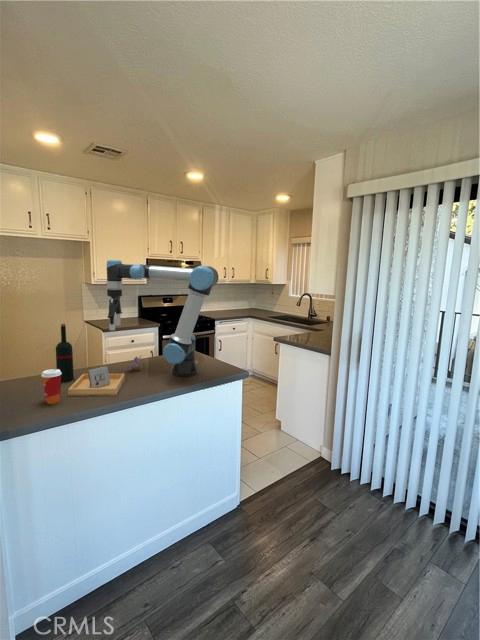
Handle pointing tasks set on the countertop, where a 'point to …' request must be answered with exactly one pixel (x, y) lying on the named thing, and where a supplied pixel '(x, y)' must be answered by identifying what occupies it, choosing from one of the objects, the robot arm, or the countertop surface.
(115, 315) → the robot arm
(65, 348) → the wine bottle
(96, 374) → the electrical switch
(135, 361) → the lily
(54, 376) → the paper cup
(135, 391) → the countertop surface
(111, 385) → the wooden tray
